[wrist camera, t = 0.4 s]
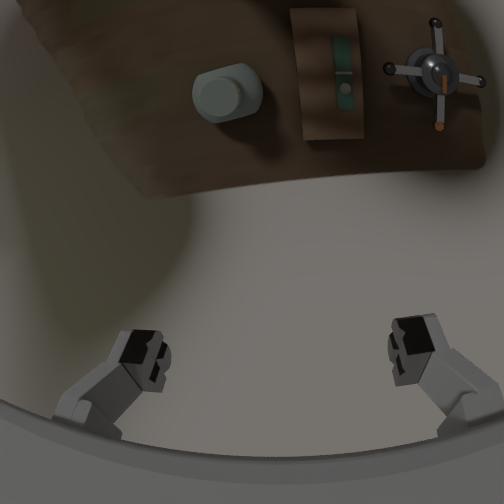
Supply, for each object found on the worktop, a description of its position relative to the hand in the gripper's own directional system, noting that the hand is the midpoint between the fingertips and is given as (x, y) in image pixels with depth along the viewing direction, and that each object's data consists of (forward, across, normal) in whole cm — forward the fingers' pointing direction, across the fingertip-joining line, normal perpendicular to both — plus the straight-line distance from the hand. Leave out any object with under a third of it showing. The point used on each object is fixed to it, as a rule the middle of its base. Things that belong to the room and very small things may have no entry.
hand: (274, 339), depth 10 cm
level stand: (+45, -8, -6) cm, 46 cm away
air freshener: (+46, +8, -5) cm, 46 cm away
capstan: (+44, -26, -7) cm, 52 cm away
